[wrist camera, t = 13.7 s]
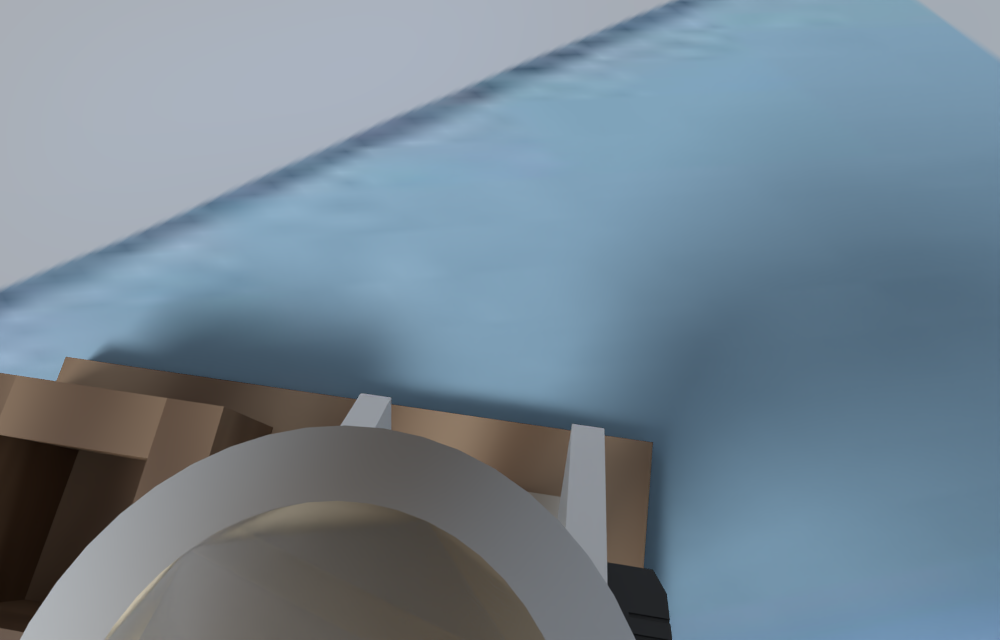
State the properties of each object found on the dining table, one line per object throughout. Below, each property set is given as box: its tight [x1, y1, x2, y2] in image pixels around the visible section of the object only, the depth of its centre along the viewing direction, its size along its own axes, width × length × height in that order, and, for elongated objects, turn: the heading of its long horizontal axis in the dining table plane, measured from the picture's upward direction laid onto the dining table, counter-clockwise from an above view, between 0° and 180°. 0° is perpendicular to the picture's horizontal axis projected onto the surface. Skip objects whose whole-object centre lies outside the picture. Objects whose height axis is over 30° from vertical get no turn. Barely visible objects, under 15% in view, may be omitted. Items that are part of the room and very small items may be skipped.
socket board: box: [0, 357, 653, 640], centre depth 20 cm, size 23×12×5 cm, turn 81°
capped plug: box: [20, 425, 636, 640], centre depth 13 cm, size 6×6×16 cm
